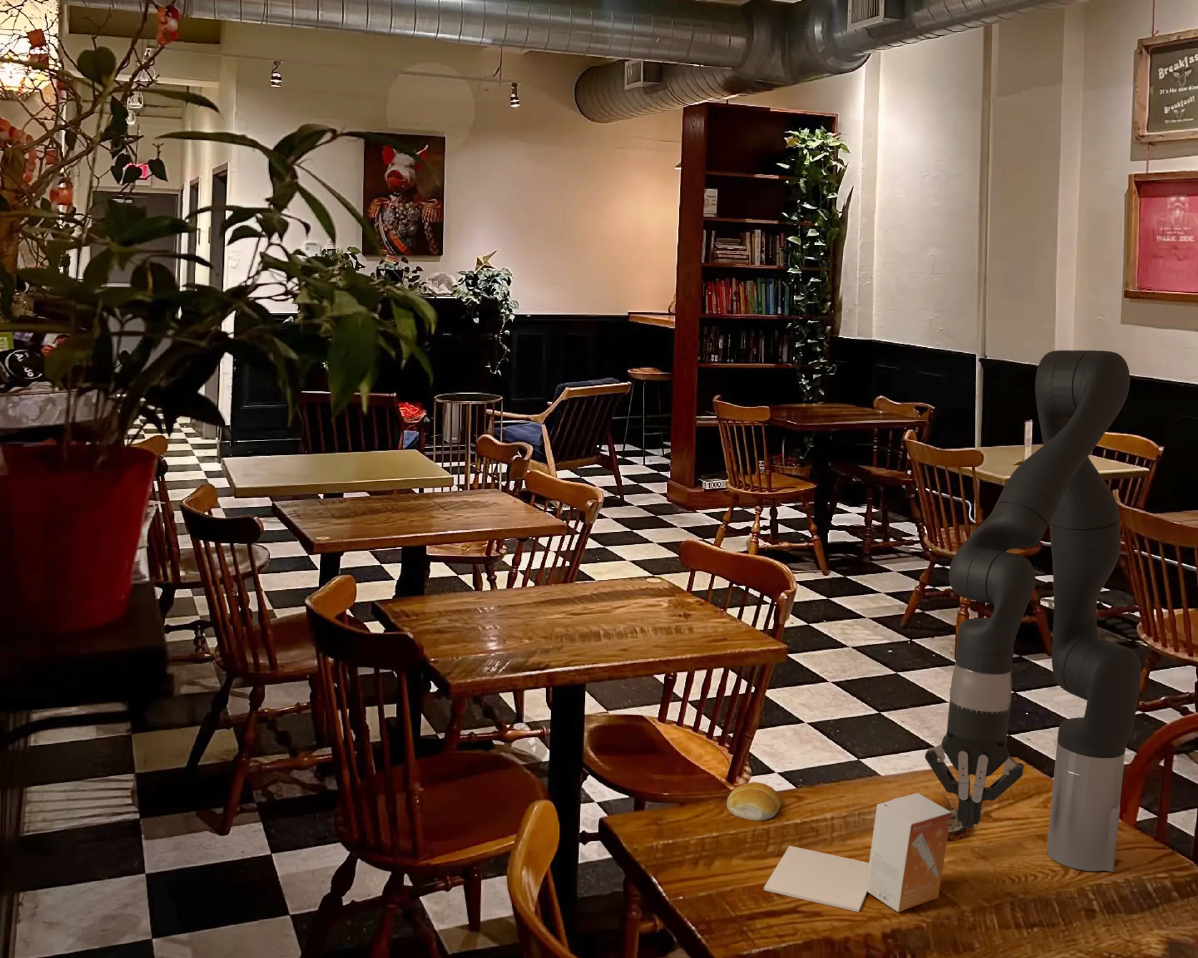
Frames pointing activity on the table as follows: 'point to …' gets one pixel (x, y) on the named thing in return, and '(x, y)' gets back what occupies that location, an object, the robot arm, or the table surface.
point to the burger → (955, 826)
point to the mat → (820, 878)
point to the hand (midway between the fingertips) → (967, 824)
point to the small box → (907, 851)
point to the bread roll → (754, 801)
